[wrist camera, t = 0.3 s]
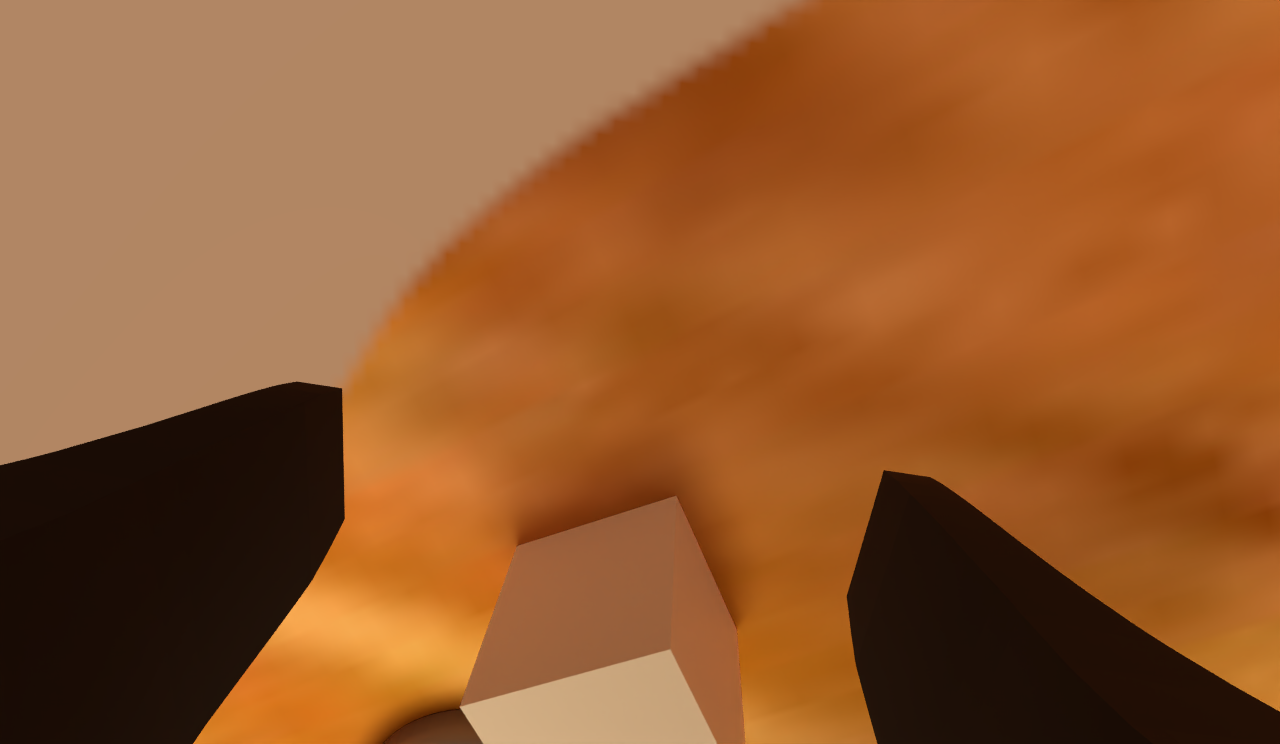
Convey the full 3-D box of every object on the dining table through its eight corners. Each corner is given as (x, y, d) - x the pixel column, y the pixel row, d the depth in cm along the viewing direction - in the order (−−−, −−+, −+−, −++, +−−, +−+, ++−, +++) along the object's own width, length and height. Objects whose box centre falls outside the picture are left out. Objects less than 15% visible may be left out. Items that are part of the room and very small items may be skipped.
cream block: (736, 628, 23) (750, 810, 18) (585, 669, 24) (554, 854, 19) (676, 494, 21) (670, 649, 16) (517, 545, 22) (459, 707, 17)
